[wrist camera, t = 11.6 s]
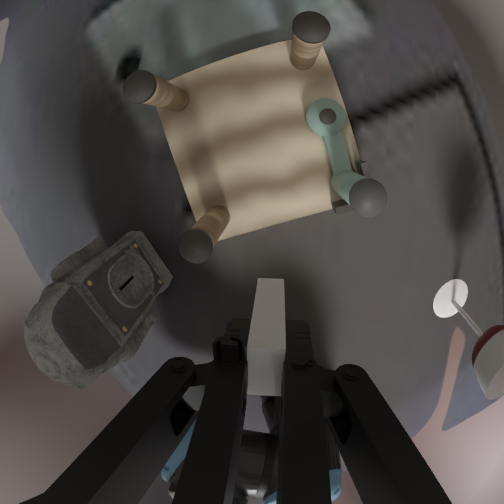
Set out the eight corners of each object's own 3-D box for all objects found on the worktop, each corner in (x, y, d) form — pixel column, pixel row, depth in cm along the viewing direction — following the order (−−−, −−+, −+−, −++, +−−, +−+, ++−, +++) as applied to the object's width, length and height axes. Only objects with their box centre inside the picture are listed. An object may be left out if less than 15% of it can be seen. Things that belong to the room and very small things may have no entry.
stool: (364, 195, 37) (403, 223, 24) (209, 238, 41) (178, 283, 28) (315, 40, 30) (331, -6, 17) (157, 91, 34) (104, 75, 21)
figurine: (132, 213, 41) (9, 293, 18) (185, 290, 45) (114, 417, 21) (94, 244, 43) (-15, 326, 20) (143, 313, 47) (68, 423, 24)
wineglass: (423, 315, 43) (474, 400, 24) (446, 270, 39) (516, 343, 21) (453, 323, 43) (505, 399, 24) (476, 282, 40) (541, 349, 21)
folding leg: (300, 106, 31) (309, 90, 21) (335, 96, 30) (358, 79, 20) (330, 199, 35) (350, 223, 25) (363, 190, 34) (395, 210, 24)
